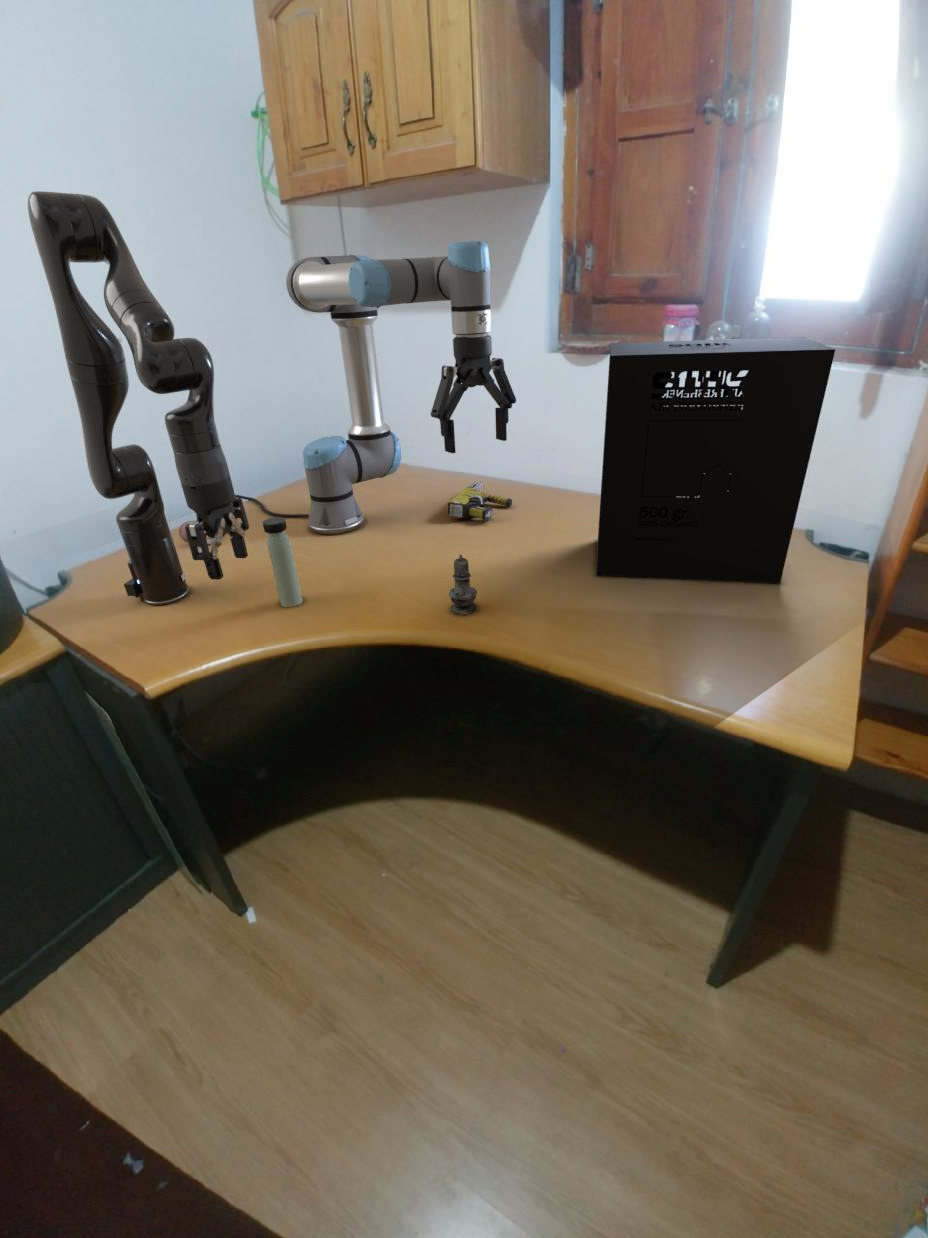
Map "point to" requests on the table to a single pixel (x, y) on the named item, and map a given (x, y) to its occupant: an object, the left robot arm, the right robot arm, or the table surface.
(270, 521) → the cap
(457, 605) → the salt shaker
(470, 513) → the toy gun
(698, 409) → the cardboard box
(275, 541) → the bottle
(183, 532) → the eyeball
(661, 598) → the table surface
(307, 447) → the right robot arm
